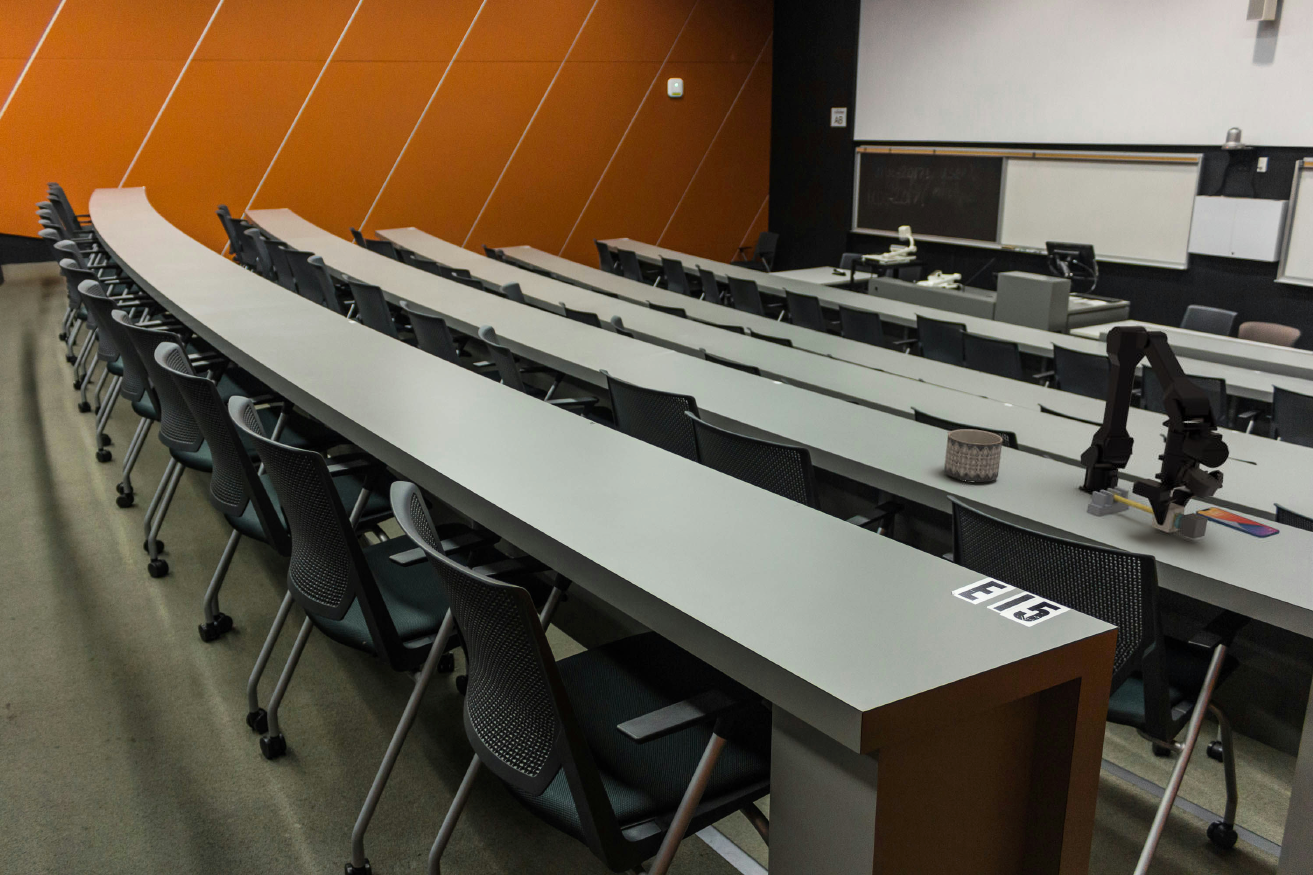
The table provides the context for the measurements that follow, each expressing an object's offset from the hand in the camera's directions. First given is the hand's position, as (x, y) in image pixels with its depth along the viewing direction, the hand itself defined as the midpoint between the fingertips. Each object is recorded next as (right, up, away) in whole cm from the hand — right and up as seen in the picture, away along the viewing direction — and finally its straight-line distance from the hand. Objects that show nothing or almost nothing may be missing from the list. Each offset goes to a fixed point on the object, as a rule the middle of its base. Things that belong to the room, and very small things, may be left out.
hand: (1166, 523), depth 201 cm
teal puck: (+1, -1, -2) cm, 3 cm away
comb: (-7, +2, +13) cm, 14 cm away
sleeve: (0, -2, +1) cm, 2 cm away
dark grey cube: (+2, -2, -4) cm, 5 cm away
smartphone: (+18, -1, +6) cm, 19 cm away
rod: (-3, +2, +5) cm, 6 cm away
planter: (-30, +8, +33) cm, 46 cm away
